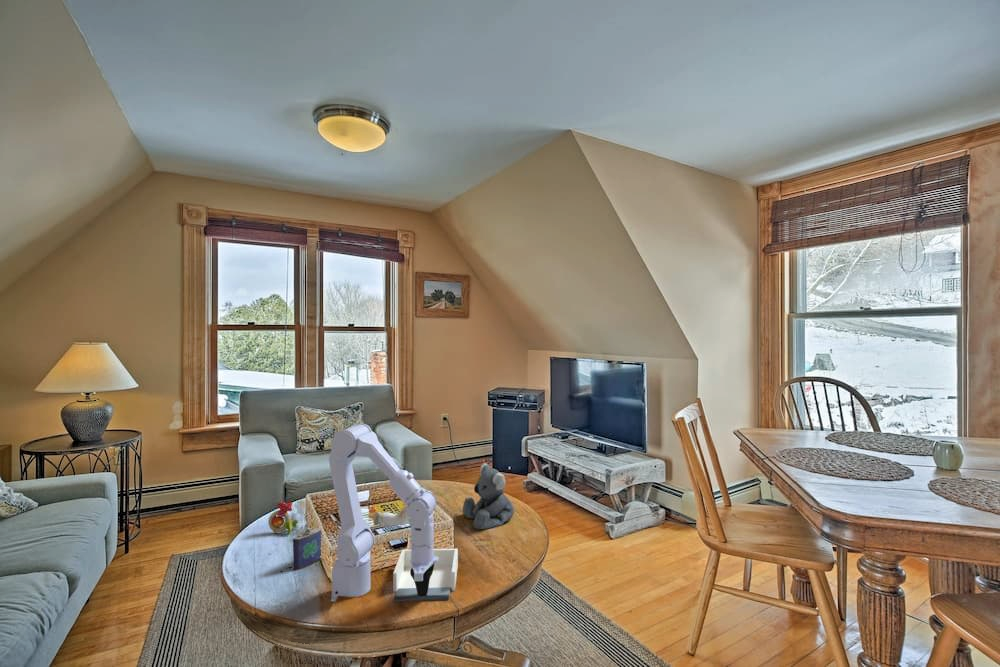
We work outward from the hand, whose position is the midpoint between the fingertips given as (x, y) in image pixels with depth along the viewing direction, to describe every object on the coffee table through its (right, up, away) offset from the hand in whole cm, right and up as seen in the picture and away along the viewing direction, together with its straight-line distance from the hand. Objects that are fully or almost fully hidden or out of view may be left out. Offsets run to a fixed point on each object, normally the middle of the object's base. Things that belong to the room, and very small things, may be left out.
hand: (422, 594), depth 119 cm
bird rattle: (-55, -2, +42) cm, 70 cm away
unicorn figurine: (-13, -2, +36) cm, 39 cm away
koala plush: (+16, -2, +53) cm, 56 cm away
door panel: (0, -1, +4) cm, 4 cm away
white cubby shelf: (0, -2, +10) cm, 10 cm away
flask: (-38, -2, +20) cm, 43 cm away
